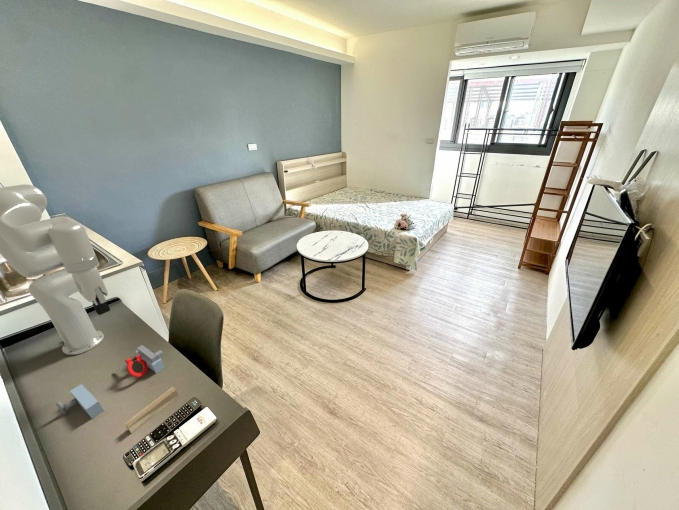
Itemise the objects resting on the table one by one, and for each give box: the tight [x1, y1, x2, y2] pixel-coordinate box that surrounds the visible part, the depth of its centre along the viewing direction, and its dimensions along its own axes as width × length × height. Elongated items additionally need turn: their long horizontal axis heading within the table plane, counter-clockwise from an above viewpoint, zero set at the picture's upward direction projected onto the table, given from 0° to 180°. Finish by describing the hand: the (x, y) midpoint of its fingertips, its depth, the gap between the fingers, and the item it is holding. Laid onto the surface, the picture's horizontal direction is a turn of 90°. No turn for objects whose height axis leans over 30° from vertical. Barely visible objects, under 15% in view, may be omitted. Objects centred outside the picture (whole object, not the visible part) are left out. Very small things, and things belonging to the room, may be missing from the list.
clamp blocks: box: [55, 344, 166, 419], centre depth 91 cm, size 12×28×6 cm, turn 149°
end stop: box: [124, 386, 179, 434], centre depth 84 cm, size 2×14×3 cm, turn 149°
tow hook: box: [112, 355, 149, 378], centre depth 96 cm, size 7×10×7 cm
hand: (103, 311), depth 90 cm, fingers closed
